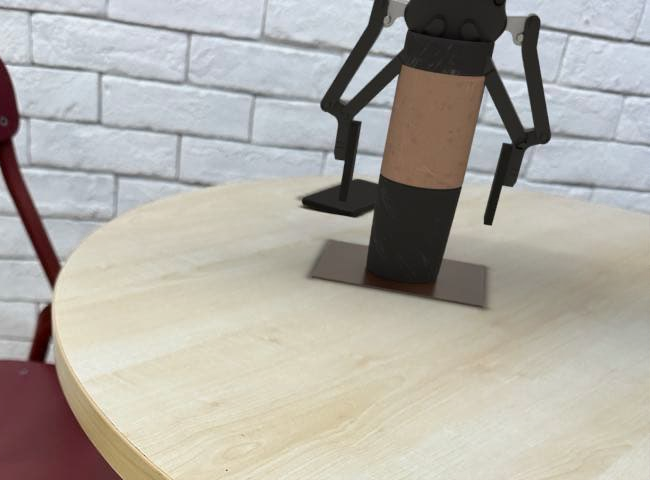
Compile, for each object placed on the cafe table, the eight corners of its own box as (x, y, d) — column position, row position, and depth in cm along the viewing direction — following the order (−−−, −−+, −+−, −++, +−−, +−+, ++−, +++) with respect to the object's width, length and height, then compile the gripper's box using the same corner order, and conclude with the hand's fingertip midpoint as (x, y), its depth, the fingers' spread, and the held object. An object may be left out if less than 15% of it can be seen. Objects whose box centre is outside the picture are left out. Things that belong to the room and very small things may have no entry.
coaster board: (481, 275, 87) (483, 265, 87) (480, 316, 78) (483, 306, 77) (329, 249, 89) (330, 239, 89) (310, 286, 80) (311, 275, 79)
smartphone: (404, 191, 109) (350, 212, 98) (403, 197, 109) (349, 219, 99) (357, 178, 111) (300, 197, 101) (356, 184, 112) (298, 204, 101)
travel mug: (354, 273, 81) (396, 31, 69) (374, 251, 87) (416, 25, 75) (432, 290, 79) (489, 45, 67) (447, 267, 85) (502, 38, 73)
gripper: (311, -88, 66) (278, 197, 78) (642, -48, 62) (552, 243, 75) (325, -85, 71) (292, 179, 84) (628, -49, 68) (547, 220, 81)
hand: (415, 210), depth 80 cm, fingers open, 13 cm apart
